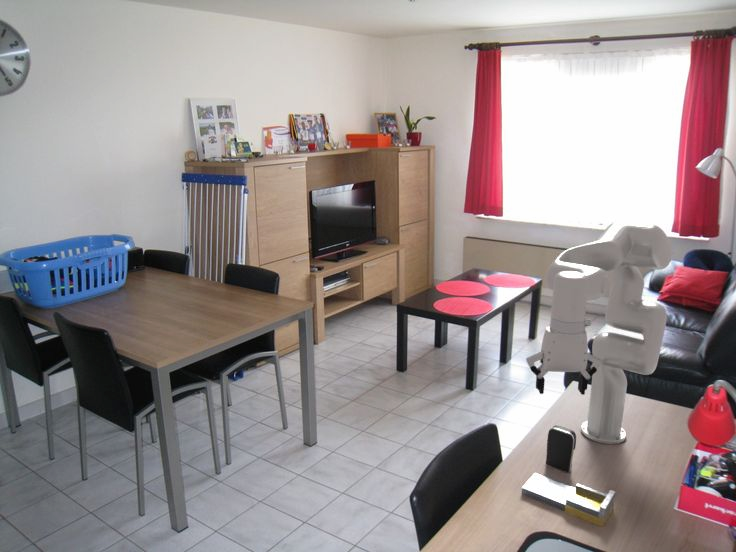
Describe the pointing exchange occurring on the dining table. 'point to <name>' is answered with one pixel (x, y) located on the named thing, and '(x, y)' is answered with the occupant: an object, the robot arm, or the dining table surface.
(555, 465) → the battery charger
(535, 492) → the grey and yellow block
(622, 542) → the dining table surface
